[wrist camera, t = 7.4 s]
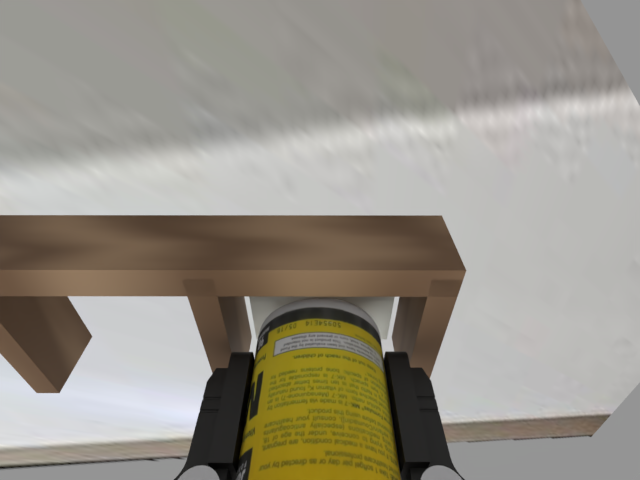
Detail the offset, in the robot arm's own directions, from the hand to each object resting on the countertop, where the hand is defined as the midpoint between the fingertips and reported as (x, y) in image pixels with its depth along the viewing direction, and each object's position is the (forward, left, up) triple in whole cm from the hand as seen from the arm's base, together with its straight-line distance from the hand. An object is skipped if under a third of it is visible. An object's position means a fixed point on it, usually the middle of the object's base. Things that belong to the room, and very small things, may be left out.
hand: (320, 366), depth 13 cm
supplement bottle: (0, 0, -2) cm, 2 cm away
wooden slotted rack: (-4, 0, -4) cm, 5 cm away
